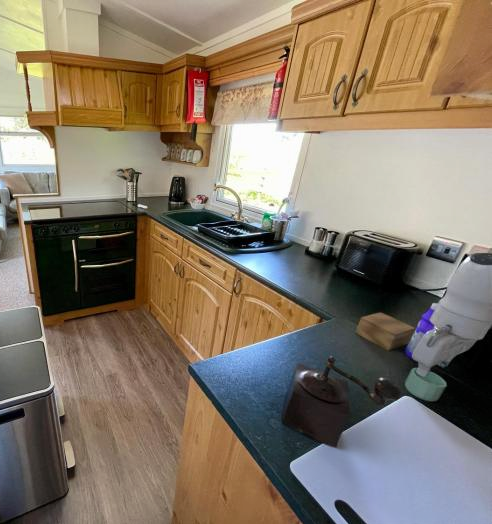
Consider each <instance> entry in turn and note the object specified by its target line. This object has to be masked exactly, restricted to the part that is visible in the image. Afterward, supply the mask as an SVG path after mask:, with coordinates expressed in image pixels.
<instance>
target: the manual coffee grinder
mask: <svg viewBox="0 0 492 524" xmlns="http://www.w3.org/2000/svg"><path fill="white" fill-rule="evenodd" d="M335 362H336V358H335V357H334V356H332V355H331V356H328V357H327V360H326V361H325V368H324V371H321V370H318V369H315V368H312V367H310V366H307V365H304V364H302V363H299V362H297V363H296V365H295V368H294V370H293V373H292V376H291V379H290V382H289V384H288V387H287V390H286V392H285V395H284V401H283V407H282V413H281V418H280V420H281V423H282V424H283V425H285V426H287V427H289V428H290V429H292V430H294V431H296V432H299V433H300V434H302V435H304V436H306V437H308V438H309V439H310V438H311V439H313V440H315V441H318V442H320V443H323V444H325V445H328V446H330V447H334V448H338V443H339V441H340V438H341V436H342V433H343V432H344V430H345V427H346V425H347V424H348V421H349V419H350V417H351V413H352V409H351V407H352V406H351V394H350V388H349V387H350V386H349V382H348V381H347V380H344V379H341V378H339V377H336V376H333V375H332V374H330V372H331V370H333V371H334V372H336V373H337V374H339V375H340V376H342V377H345V378H346V379H348V380H350V381H351V382H353V383H355V384H356V385H358V386H360V387H361V388H362V390H364V391H365V393H367V395H368V397H369V398H370V400H371V401H372V402H374V403H375V404H376V405H378V406H381V407H385V406H386V404H387V402H389V401H398V400H399V399H401V397H402V390H401V388H400V386H398V385H397V383H395V382H394V381H393V380H391V379H390V378H387V377H384V376H382V377H378V378H376V379H375V380H374V389H373V390H372V389H371V388H370V387H369V385H367V384H366V383H365V382H364V381H362V380H361V379H359V378H357V377H356V376H354V375H352V374H350V373H348V372H347V371H345V370H343V369H341V368H340V367H338V366H336V365H335Z"/></svg>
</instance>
